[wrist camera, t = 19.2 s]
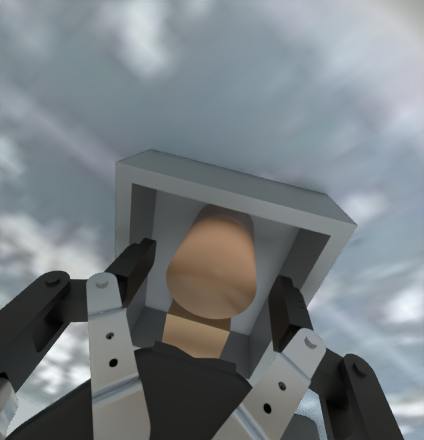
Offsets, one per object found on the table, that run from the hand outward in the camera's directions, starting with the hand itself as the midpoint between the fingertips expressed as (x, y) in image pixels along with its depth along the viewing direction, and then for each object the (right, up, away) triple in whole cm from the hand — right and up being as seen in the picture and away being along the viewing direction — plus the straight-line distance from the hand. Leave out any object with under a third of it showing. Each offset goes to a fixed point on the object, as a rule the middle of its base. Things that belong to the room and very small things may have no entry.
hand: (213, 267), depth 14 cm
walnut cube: (-1, -5, +8) cm, 9 cm away
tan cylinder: (+1, +2, +4) cm, 5 cm away
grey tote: (0, -1, +7) cm, 7 cm away
